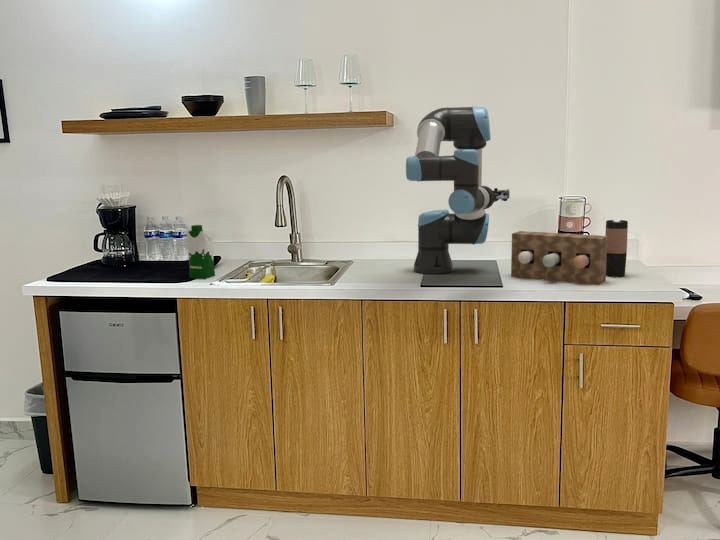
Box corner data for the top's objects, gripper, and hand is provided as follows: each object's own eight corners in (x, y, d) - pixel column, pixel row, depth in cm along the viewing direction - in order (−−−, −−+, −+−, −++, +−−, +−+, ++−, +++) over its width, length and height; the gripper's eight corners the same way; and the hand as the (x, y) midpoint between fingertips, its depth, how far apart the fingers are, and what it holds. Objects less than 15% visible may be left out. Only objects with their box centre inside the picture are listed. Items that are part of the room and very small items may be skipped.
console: (511, 276, 271) (511, 233, 268) (519, 273, 278) (520, 231, 275) (599, 284, 254) (601, 238, 251) (605, 280, 260) (607, 235, 258)
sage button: (542, 266, 258) (542, 254, 257) (549, 263, 264) (549, 251, 263) (554, 267, 255) (555, 255, 255) (561, 264, 261) (561, 252, 260)
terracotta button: (573, 267, 255) (573, 255, 254) (579, 264, 260) (579, 252, 260) (586, 268, 252) (586, 256, 252) (592, 265, 258) (592, 253, 257)
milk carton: (186, 278, 280) (183, 226, 276) (198, 274, 288) (195, 223, 285) (206, 279, 277) (203, 226, 273) (218, 275, 285) (215, 223, 282)
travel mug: (614, 278, 265) (617, 222, 262) (599, 274, 272) (601, 220, 268) (630, 275, 269) (632, 221, 265) (614, 272, 275) (616, 219, 272)
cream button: (518, 263, 266) (518, 251, 265) (525, 260, 271) (525, 248, 270) (529, 264, 263) (530, 252, 262) (536, 261, 269) (537, 249, 268)
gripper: (460, 209, 238) (489, 202, 258) (498, 211, 231) (525, 204, 251) (460, 186, 237) (490, 181, 257) (498, 187, 230) (525, 182, 249)
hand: (507, 192), depth 254 cm, fingers closed
